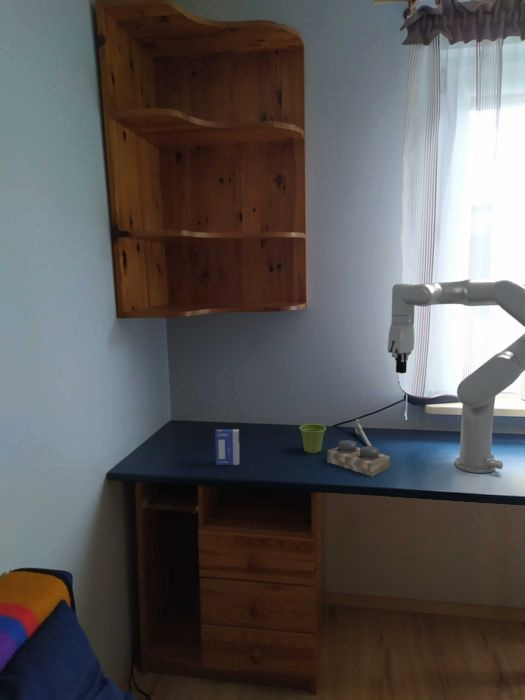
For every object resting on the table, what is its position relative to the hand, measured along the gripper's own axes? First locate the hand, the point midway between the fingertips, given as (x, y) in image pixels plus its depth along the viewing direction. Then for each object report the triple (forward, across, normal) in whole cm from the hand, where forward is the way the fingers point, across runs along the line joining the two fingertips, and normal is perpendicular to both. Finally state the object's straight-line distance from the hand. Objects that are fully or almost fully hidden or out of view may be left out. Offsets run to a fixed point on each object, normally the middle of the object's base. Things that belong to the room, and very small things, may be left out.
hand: (401, 372), depth 186 cm
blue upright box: (+29, +50, -35) cm, 68 cm away
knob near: (+29, +20, +1) cm, 35 cm away
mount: (+29, +20, -3) cm, 35 cm away
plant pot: (+29, +20, -23) cm, 42 cm away
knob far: (+29, +20, -7) cm, 36 cm away
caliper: (+30, -2, -17) cm, 34 cm away
